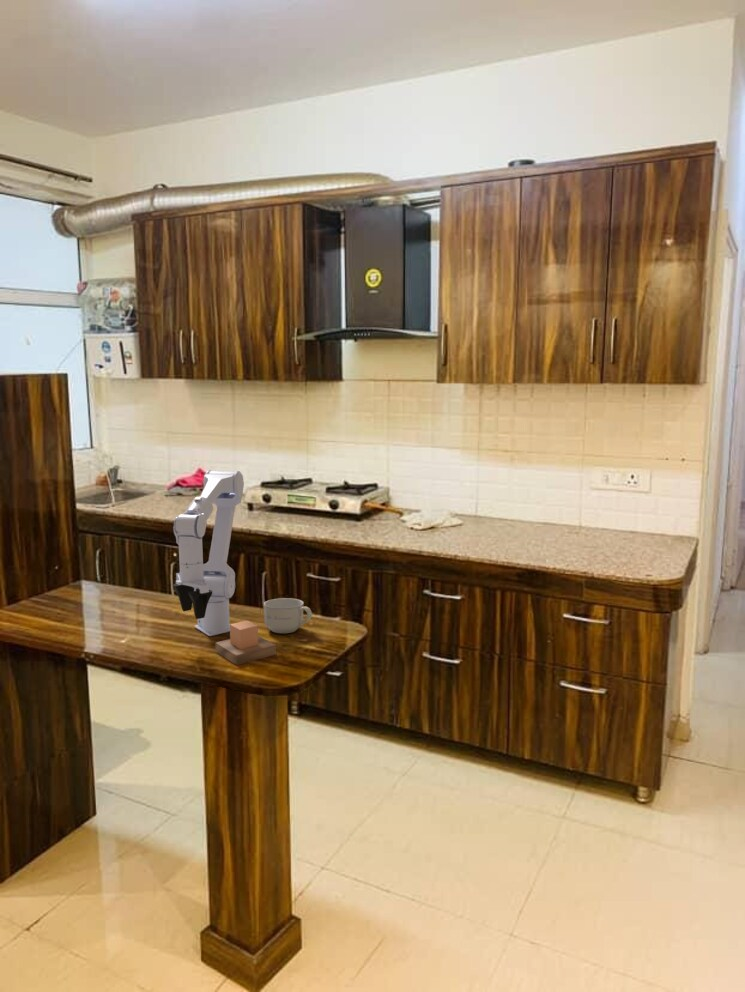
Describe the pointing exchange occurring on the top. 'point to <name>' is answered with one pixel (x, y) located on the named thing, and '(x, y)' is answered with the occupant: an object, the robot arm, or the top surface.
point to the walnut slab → (245, 651)
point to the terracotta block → (244, 634)
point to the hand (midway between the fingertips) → (193, 614)
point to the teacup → (285, 614)
